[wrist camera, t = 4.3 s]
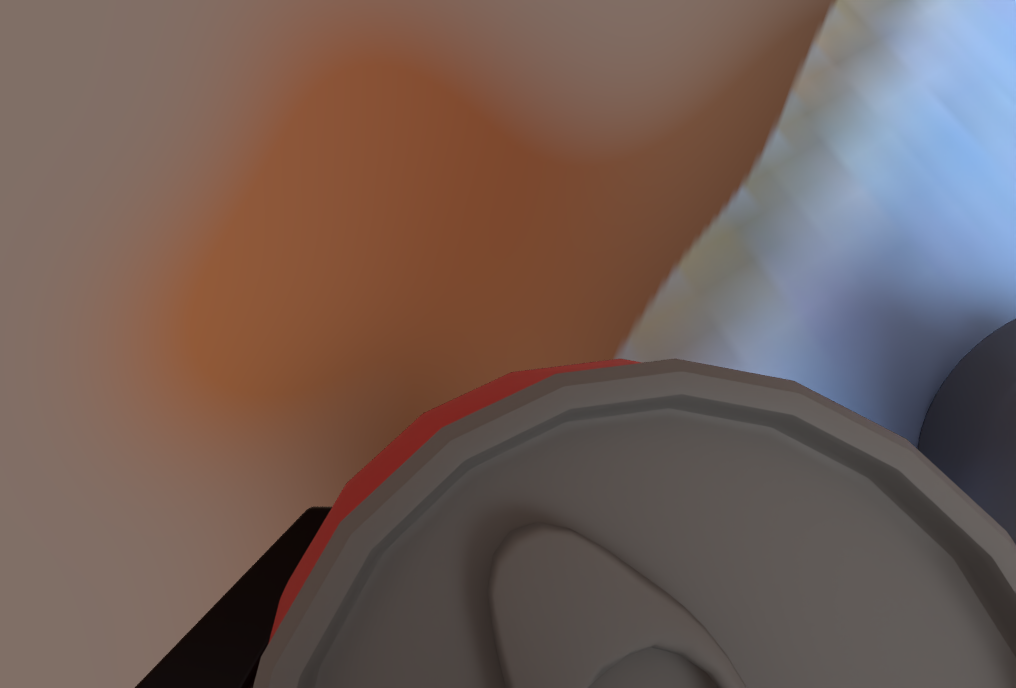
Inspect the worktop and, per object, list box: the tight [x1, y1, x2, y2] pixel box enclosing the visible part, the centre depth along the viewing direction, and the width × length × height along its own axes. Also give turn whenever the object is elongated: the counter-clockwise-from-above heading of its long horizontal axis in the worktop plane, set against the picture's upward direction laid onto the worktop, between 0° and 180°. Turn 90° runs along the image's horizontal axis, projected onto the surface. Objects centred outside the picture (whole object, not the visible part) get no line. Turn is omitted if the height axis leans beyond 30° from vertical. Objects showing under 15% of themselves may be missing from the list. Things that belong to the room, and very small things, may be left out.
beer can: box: [253, 359, 1016, 688], centre depth 9 cm, size 7×7×12 cm
